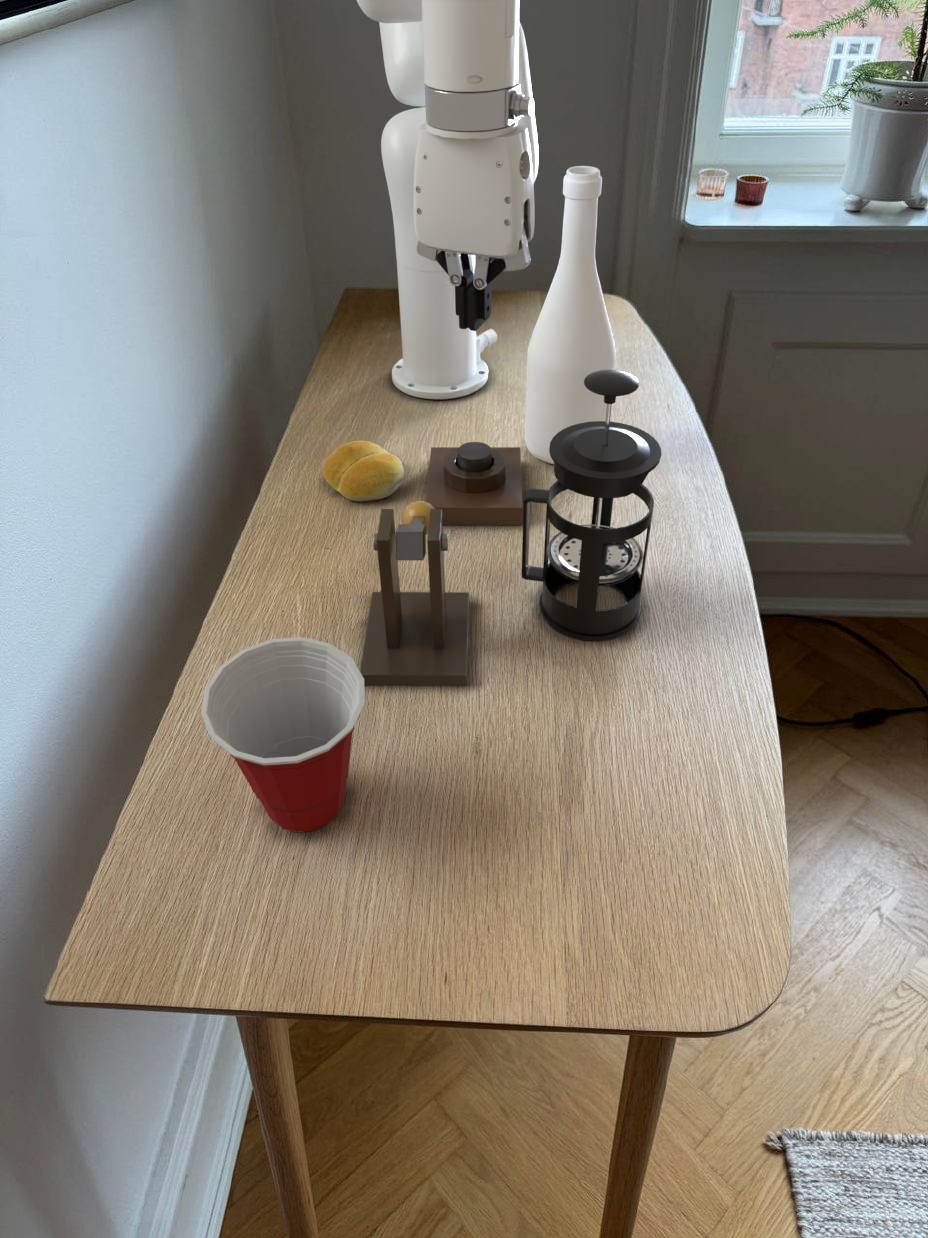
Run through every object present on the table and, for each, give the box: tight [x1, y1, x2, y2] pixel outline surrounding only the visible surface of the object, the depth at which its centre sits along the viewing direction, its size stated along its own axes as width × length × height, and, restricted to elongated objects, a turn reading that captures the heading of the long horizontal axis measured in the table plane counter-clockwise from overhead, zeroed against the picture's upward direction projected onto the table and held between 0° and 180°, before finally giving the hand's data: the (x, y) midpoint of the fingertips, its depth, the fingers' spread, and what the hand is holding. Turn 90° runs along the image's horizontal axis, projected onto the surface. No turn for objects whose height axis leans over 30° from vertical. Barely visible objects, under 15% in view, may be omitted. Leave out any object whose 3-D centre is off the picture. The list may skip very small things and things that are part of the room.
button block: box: [425, 446, 524, 526], centre depth 98 cm, size 12×10×4 cm
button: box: [458, 441, 492, 472], centre depth 96 cm, size 4×4×2 cm
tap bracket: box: [359, 508, 470, 686], centre depth 77 cm, size 11×9×13 cm
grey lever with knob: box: [395, 500, 435, 561], centre depth 79 cm, size 13×3×3 cm, turn 178°
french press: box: [521, 369, 662, 642], centre depth 77 cm, size 12×9×23 cm
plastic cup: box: [200, 636, 365, 833], centre depth 64 cm, size 11×11×12 cm
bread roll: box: [322, 439, 405, 502], centre depth 100 cm, size 8×9×4 cm
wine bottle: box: [524, 165, 617, 465], centre depth 96 cm, size 10×10×30 cm
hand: (473, 323), depth 87 cm, fingers closed
